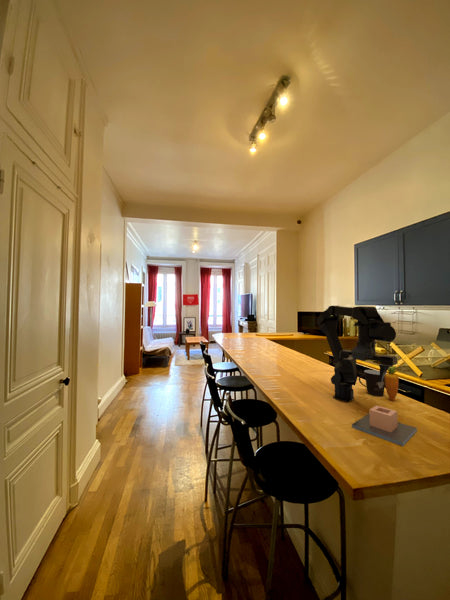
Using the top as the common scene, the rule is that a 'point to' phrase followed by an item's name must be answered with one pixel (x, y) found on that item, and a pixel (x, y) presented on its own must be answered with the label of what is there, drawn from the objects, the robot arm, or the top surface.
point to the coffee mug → (373, 383)
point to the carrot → (391, 383)
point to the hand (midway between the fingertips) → (367, 379)
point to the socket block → (383, 418)
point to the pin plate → (396, 436)
